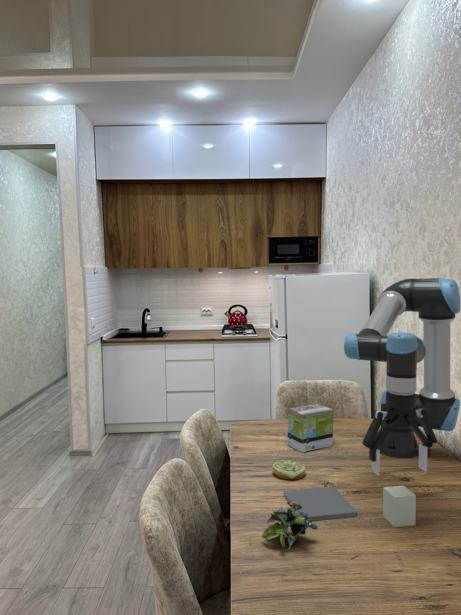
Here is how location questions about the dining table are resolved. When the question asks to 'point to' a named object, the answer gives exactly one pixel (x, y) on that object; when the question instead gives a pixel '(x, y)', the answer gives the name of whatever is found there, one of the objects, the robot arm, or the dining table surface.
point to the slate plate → (321, 503)
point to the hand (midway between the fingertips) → (399, 471)
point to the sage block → (399, 506)
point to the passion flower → (288, 524)
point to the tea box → (310, 427)
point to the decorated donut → (289, 469)
